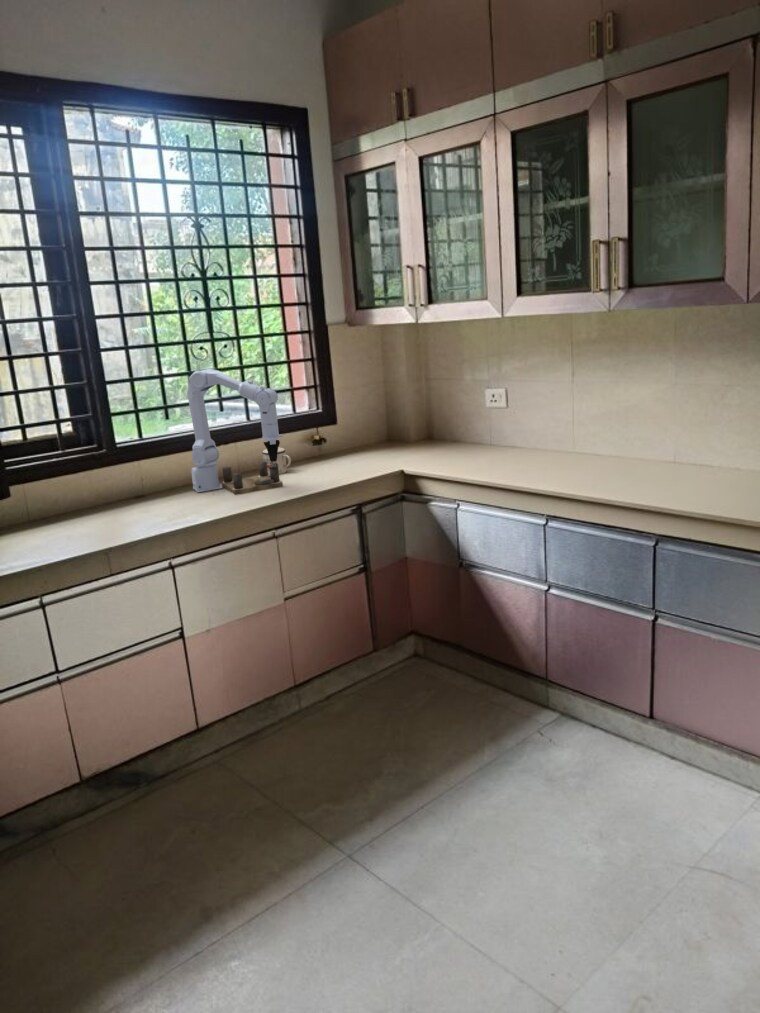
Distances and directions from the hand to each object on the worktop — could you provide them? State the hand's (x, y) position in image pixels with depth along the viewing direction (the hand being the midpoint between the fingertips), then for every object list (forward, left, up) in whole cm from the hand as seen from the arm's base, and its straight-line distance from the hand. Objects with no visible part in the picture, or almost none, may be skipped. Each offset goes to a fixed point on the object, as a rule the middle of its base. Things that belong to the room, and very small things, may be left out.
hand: (273, 461), depth 278 cm
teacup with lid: (+10, +28, -11) cm, 32 cm away
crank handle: (-2, +5, -8) cm, 10 cm away
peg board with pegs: (-6, +12, -10) cm, 17 cm away
